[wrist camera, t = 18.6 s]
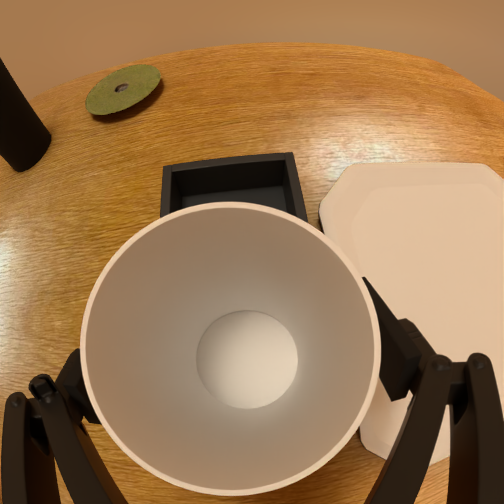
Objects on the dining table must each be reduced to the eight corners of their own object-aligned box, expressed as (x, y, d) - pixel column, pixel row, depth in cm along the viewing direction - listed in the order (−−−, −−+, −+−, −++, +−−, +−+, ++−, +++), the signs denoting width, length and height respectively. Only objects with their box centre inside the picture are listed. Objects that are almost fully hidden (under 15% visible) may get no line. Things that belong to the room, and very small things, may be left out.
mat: (171, 69, 37) (168, 59, 35) (151, 118, 33) (147, 107, 31) (106, 80, 37) (102, 71, 35) (78, 129, 33) (73, 120, 31)
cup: (173, 355, 22) (38, 324, 7) (249, 287, 24) (233, 154, 9) (244, 431, 20) (218, 542, 5) (322, 359, 22) (435, 339, 7)
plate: (357, 483, 18) (365, 492, 16) (303, 178, 29) (306, 165, 27) (552, 377, 19) (563, 375, 17) (496, 172, 30) (504, 163, 27)
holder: (185, 428, 21) (169, 440, 16) (175, 193, 28) (163, 165, 24) (323, 415, 21) (337, 426, 16) (288, 182, 29) (292, 151, 24)
